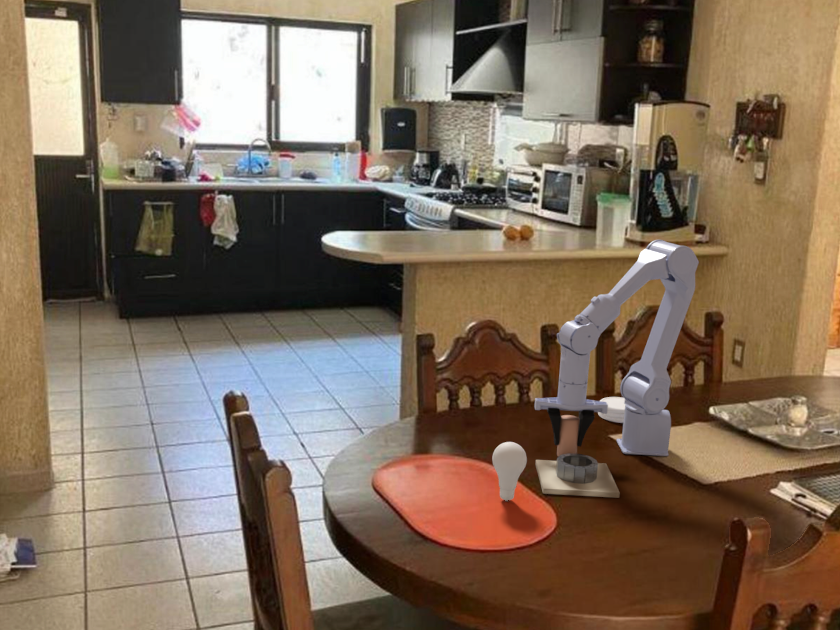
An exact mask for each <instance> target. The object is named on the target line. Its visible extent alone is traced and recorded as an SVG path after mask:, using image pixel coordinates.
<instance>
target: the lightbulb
mask: <svg viewBox="0 0 840 630" xmlns="http://www.w3.org/2000/svg"><path fill="white" fill-rule="evenodd" d="M491 459H492V466H493V468H494V470H495V472H496V474H497V478H498V487H499V497H500V499H501V500H503V501H504V500H505V501H504V502H509V501H511V500H513V499H514V497H515V492H516V491H515V490H516V488H517V484H518V480H519V479H520V475H521V474H522V473H523V471H524V470H525V469H526V466H527V462H528V458H527V453H526V451H525V449H524V448H523V447H522V446H521V445H520V444H518V443H516V442H513V441H506V442H502V443H500V444H499V445H498V446H497V447H496V448H495V449H494V451H493V452H492V458H491ZM508 500H509V501H508Z"/></svg>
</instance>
